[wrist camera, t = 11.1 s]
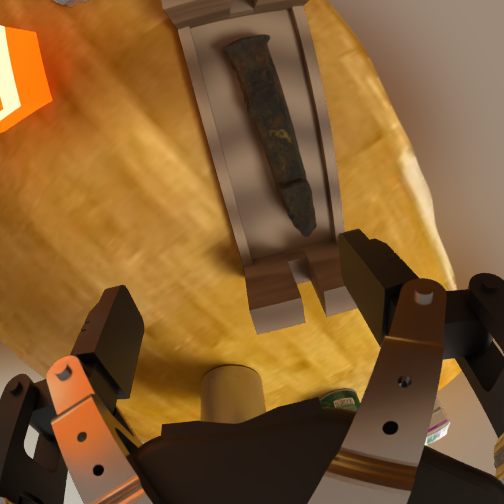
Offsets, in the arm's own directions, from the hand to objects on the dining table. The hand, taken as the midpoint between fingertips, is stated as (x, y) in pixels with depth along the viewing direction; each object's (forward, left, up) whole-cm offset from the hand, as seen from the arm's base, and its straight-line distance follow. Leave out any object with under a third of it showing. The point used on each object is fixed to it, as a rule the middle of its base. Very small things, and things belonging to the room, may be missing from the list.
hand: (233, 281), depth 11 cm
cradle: (+1, -5, -20) cm, 21 cm away
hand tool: (+1, -5, -19) cm, 20 cm away
